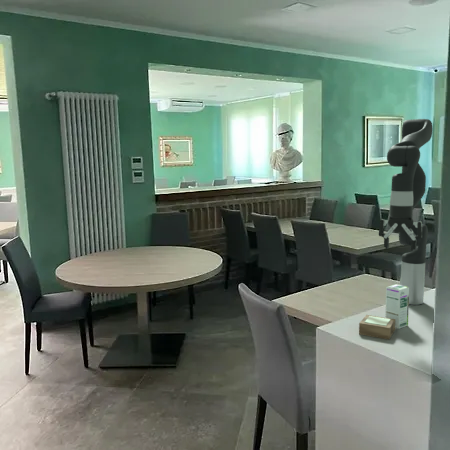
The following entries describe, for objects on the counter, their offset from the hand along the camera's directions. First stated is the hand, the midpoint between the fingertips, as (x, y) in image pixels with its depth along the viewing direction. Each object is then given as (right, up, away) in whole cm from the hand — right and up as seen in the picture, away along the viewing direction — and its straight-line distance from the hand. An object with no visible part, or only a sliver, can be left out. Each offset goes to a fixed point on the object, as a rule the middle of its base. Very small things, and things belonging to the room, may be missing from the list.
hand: (399, 249), depth 164 cm
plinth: (-9, -29, -3) cm, 30 cm away
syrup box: (0, -28, +4) cm, 28 cm away
